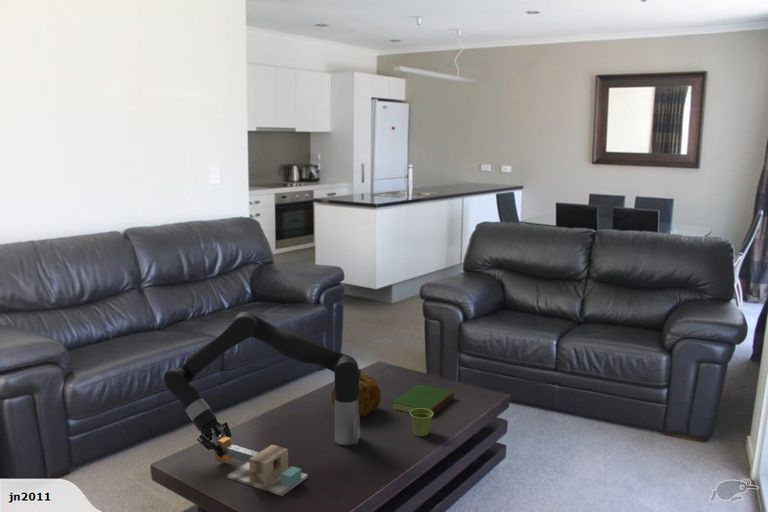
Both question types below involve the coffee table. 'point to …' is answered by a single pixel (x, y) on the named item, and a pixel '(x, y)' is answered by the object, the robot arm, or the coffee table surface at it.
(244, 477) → the base board
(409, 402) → the hardcover book
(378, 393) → the decorative pumpkin
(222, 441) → the shaft
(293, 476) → the block
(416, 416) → the plant pot
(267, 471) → the bearing block
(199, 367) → the robot arm
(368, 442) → the coffee table surface
